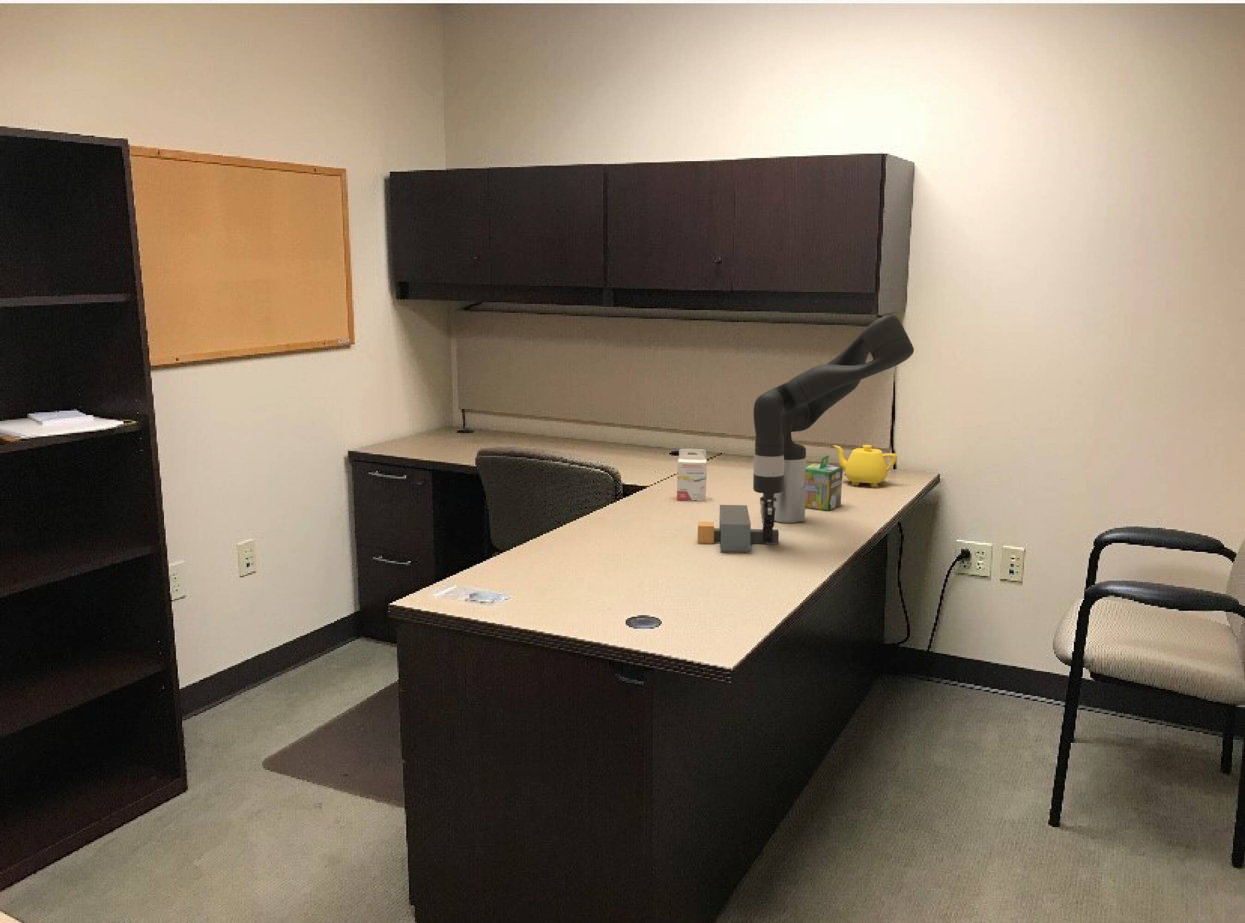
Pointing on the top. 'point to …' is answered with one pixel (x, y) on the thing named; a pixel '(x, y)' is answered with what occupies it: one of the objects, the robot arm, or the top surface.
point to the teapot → (866, 465)
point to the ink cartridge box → (691, 475)
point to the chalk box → (823, 485)
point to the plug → (713, 534)
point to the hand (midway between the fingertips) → (767, 539)
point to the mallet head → (734, 528)
